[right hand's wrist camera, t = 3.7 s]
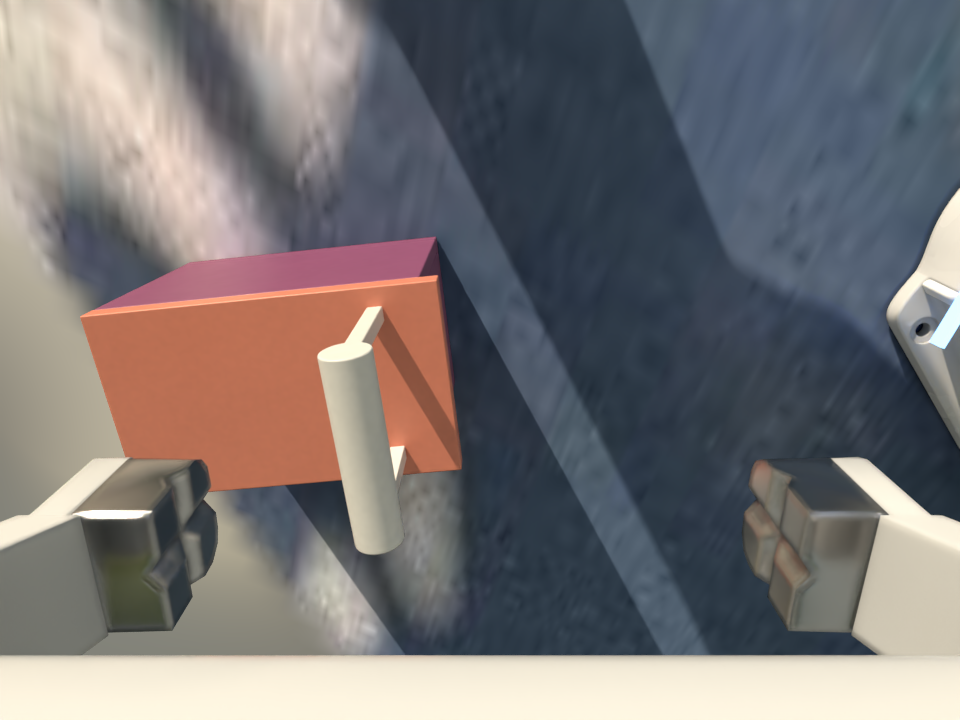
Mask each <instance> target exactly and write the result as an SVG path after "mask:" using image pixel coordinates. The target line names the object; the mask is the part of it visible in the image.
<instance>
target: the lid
mask: <svg viewBox="0 0 960 720" xmlns="http://www.w3.org/2000/svg"><path fill="white" fill-rule="evenodd" d="M80 318H81V321H82V324H83V327H84V330H85V333H86V337H87V340H88V343H89V346H90V349H91V352H92V355H93V358H94V361H95V364H96V367H97V370H98V374H99V377H100V380H101V383H102V386H103V389H104V392H105V395H106V398H107V401H108V404H109V407H110V411H111V414H112V417H113V420H114V423H115V426H116V429H117V432H118V435H119V438H120V441H121V445H122V448H123V451H124V454H125V457H132V458H168V459H202V460H203V462H204V463H205V464H206V465H207V466H208V471H209V476H210V481H211V488H210V489H209V491H208V492H213V491H225V490H236V489H247V488H259V487H270V486H281V485H293V484H304V483H315V482H327V481H338V480H342V483H343V488H344V493H345V498H346V503H347V508H348V513H349V518H350V523H351V528H352V533H353V537H354V542H355V546H356V548H357V549H358V551H360V552H361V553H364V554H368V555H379V554H384V553H387V552H390V551H392V550H394V549H395V548H397V547H398V546H399V545H400V544H401V543H402V542H403V540H404V536H405V533H404V527H403V522H402V516H401V510H400V504H399V498H398V492H399V488H400V484H401V480H402V475H406V474H417V473H429V472H440V471H451V470H461V468H462V454H461V446H460V438H459V431H458V423H457V415H456V408H455V400H454V392H453V384H452V377H451V369H450V361H449V353H448V346H447V338H446V330H445V323H444V315H443V307H442V299H441V292H440V284H439V277H438V275H434V276H425V277H415V278H405V279H395V280H385V281H376V282H366V283H356V284H346V285H336V286H327V287H317V288H307V289H297V290H287V291H278V292H268V293H258V294H248V295H238V296H229V297H219V298H209V299H199V300H189V301H180V302H170V303H160V304H150V305H140V306H131V307H121V308H111V309H101V310H92V311H90V312H88V313H86V314H84V315H82V316H81V317H80Z"/></svg>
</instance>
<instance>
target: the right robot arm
mask: <svg viewBox="0 0 960 720" xmlns="http://www.w3.org/2000/svg"><path fill="white" fill-rule="evenodd" d="M887 321H888V324H889V326H890V328H891V329H892V331H893V333H894V335H895V337H896V338H897V340H898V342H899V344H900V345H901V347H902V349H903V351H904V352H905V354H906V356H907V358H908V359H909V361H910V363H911V365H912V366H913V368H914V370H915V372H916V373H917V375H918V377H919V379H920V380H921V382H922V384H923V386H924V387H925V389H926V391H927V393H928V395H929V396H930V398H931V400H932V402H933V403H934V405H935V407H936V409H937V410H938V412H939V414H940V416H941V417H942V419H943V421H944V423H945V424H946V426H947V428H948V430H949V431H950V433H951V435H952V437H953V438H954V440H955V442H956V444H957V445H958V447H959V449H960V189H959V190H958V191H957V192H956V194H955V195H954V196H953V197H952V199H951V200H950V202H949V203H948V205H947V206H946V207H945V209H944V211H943V212H942V214H941V216H940V217H939V219H938V221H937V223H936V225H935V227H934V229H933V232H932V234H931V237H930V239H929V242H928V245H927V247H926V250H925V253H924V255H923V258H922V260H921V262H920V264H919V266H918V268H917V270H916V271H915V273H914V274H913V275H912V276H911V277H910V278H909V279H908V281H907V282H906V283H905V284H904V285H903V286H902V288H901V289H900V290H899V291H898V293H897V294H896V295H895V297H894V298H893V300H892V301H891V303H890V305H889V307H888V309H887ZM921 323H923V327H922V329H921V330H920V331H919V332H917V333H916V328H917V326H918V325H920V324H921ZM210 488H211V481H210V476H209V471H208V466H207V465H206V464H205V463H204V462H203V460H202V459H168V458H132V457H118V458H97V459H93V460H92V461H91V462H89V463H88V464H87V465H86V466H85V467H84V468H83V469H81V470H80V471H79V472H78V473H77V474H76V475H75V476H74V477H72V478H71V479H70V480H69V481H68V482H67V483H65V484H64V485H63V486H62V487H61V488H60V489H59V490H58V491H56V492H55V493H54V494H53V495H52V496H51V497H49V498H48V499H47V500H46V501H45V502H44V503H43V504H41V505H40V506H39V507H38V508H37V509H36V510H35V511H33V512H32V513H31V514H30V515H18V516H15V517H12V518H10V519H7V520H5V521H2V522H0V720H960V522H958V521H955V520H953V519H950V518H948V517H945V516H943V515H930V514H929V513H928V512H927V511H925V510H924V509H923V508H922V507H921V506H920V505H919V504H917V503H916V502H915V501H914V500H913V499H912V498H911V497H910V496H908V495H907V494H906V493H905V492H904V491H903V490H902V489H900V488H899V487H898V486H897V485H896V484H895V483H894V482H892V481H891V480H890V479H889V478H888V477H887V476H886V475H884V474H883V473H882V472H881V471H880V470H879V469H878V468H876V467H875V466H874V465H873V464H872V463H871V462H870V461H868V460H867V459H864V458H860V457H846V458H794V459H763V460H757V461H755V463H754V466H753V468H752V470H751V474H750V480H749V488H750V489H751V491H752V493H753V494H754V496H755V497H756V501H755V502H754V503H753V504H752V505H751V506H750V507H749V508H748V509H747V510H746V511H745V512H744V518H743V527H742V539H743V549H744V553H745V556H746V559H747V562H748V565H749V566H750V568H751V570H752V572H753V573H754V575H755V576H756V577H758V578H759V579H761V580H763V581H764V582H766V583H767V584H769V591H768V596H767V597H768V599H769V600H770V602H771V604H772V605H773V607H774V609H775V610H776V612H777V614H778V615H779V617H780V618H781V620H782V622H783V623H784V625H785V627H786V628H787V630H788V631H816V632H852V636H853V637H855V638H856V639H857V640H859V641H860V642H861V643H863V644H864V645H865V646H867V647H868V648H870V649H871V650H872V651H874V652H875V653H876V654H878V655H82V654H84V653H85V652H86V651H88V650H89V649H91V648H92V647H93V646H95V645H96V644H97V643H99V642H100V641H102V640H103V639H104V638H106V637H107V636H108V632H143V631H172V630H173V628H174V627H175V625H176V623H177V622H178V620H179V619H180V617H181V615H182V614H183V612H184V610H185V609H186V607H187V605H188V604H189V602H190V600H191V599H192V591H191V584H192V583H194V582H196V581H197V580H199V579H201V578H202V577H204V576H205V575H206V573H207V572H208V570H209V568H210V566H211V565H212V563H213V560H214V556H215V552H216V548H217V543H218V525H217V517H216V512H215V511H214V510H213V509H212V508H211V507H210V506H209V505H208V504H207V503H206V502H205V501H204V500H203V499H204V497H205V496H206V494H207V493H208V491H209V489H210Z"/></svg>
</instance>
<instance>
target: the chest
mask: <svg viewBox="0 0 960 720" xmlns="http://www.w3.org/2000/svg"><path fill="white" fill-rule="evenodd" d="M434 275H438V277H439V284H440V292H441V299H442V307H443V315H444V323H445V330H446V338H447V346H448V353H449V361H450V369H451V377H452V384H453V390H454V383H455V379H454V371H453V363H452V356H451V348H450V340H449V332H448V324H447V317H446V309H445V301H444V293H443V285H442V278H441V270H440V262H439V254H438V246H437V238H436V237H429V238H420V239H410V240H401V241H391V242H381V243H372V244H362V245H353V246H343V247H334V248H324V249H315V250H305V251H296V252H286V253H276V254H267V255H257V256H248V257H238V258H229V259H219V260H210V261H200V262H190V263H188V264H186V265H184V266H182V267H180V268H178V269H176V270H174V271H172V272H170V273H168V274H166V275H164V276H162V277H160V278H158V279H156V280H154V281H152V282H150V283H148V284H146V285H144V286H142V287H139V288H137V289H135V290H133V291H131V292H129V293H127V294H125V295H123V296H121V297H119V298H117V299H115V300H113V301H111V302H109V303H107V304H105V305H103V306H101V307H99V308H97V309H95V310H101V309H111V308H121V307H131V306H140V305H150V304H160V303H170V302H180V301H189V300H199V299H209V298H219V297H229V296H238V295H248V294H258V293H268V292H278V291H287V290H297V289H307V288H317V287H327V286H336V285H346V284H356V283H366V282H376V281H385V280H395V279H405V278H415V277H425V276H434Z"/></svg>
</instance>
